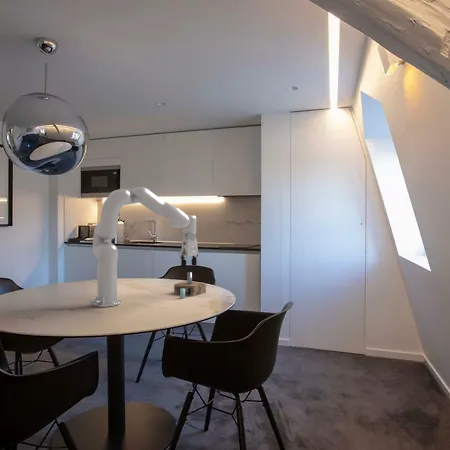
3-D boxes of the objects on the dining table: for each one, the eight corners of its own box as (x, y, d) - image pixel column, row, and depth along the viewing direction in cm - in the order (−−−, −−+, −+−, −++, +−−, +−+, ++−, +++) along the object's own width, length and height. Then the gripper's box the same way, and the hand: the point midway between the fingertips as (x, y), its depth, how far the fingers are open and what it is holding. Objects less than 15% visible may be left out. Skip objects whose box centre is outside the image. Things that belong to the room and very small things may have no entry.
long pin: (190, 293, 209) (190, 273, 209) (186, 293, 210) (186, 272, 210) (192, 292, 211) (192, 272, 211) (189, 292, 212) (189, 272, 212)
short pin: (183, 298, 195) (183, 289, 195) (179, 298, 197) (179, 289, 197) (186, 297, 197) (186, 288, 197) (182, 297, 199) (182, 288, 199)
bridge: (193, 296, 202) (193, 286, 202) (174, 293, 209) (174, 284, 209) (205, 292, 212) (205, 283, 212) (187, 290, 220) (187, 281, 219)
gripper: (185, 237, 201) (184, 267, 201) (203, 236, 216) (202, 265, 215) (175, 236, 205) (174, 266, 205) (193, 236, 220) (192, 264, 219)
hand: (188, 265), depth 210 cm, fingers open, 9 cm apart
